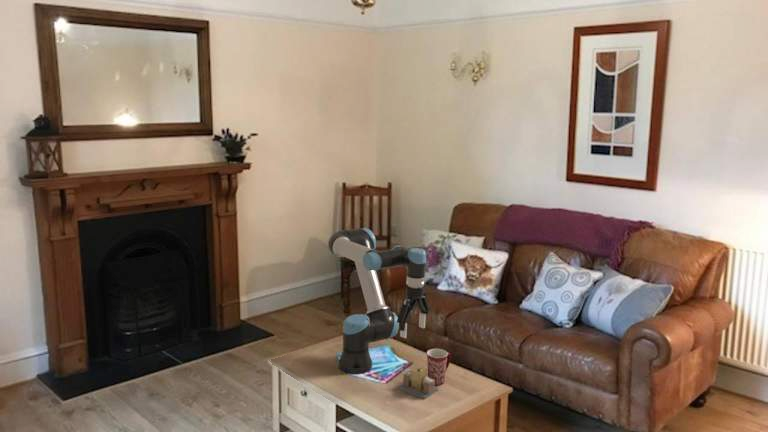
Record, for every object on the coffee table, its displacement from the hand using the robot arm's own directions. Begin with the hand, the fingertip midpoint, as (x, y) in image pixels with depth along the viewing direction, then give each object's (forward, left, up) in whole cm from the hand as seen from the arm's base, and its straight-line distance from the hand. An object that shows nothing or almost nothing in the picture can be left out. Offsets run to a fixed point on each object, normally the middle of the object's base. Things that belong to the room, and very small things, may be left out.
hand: (412, 332), depth 272 cm
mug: (+9, +9, -23) cm, 26 cm away
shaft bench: (+7, -4, -23) cm, 24 cm away
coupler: (+7, -4, -22) cm, 23 cm away
